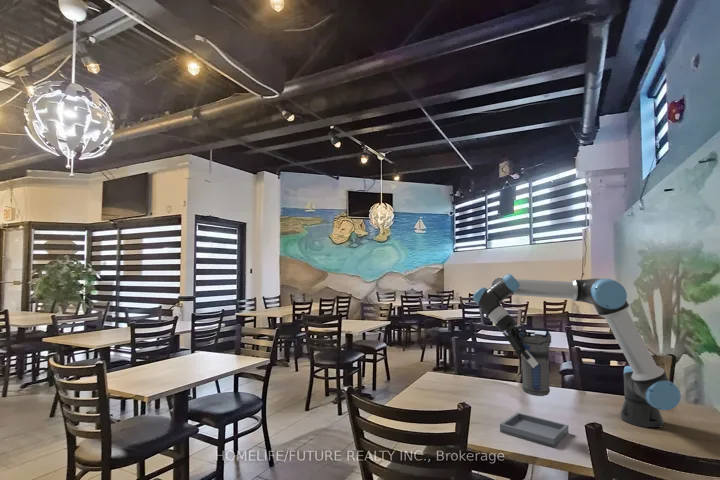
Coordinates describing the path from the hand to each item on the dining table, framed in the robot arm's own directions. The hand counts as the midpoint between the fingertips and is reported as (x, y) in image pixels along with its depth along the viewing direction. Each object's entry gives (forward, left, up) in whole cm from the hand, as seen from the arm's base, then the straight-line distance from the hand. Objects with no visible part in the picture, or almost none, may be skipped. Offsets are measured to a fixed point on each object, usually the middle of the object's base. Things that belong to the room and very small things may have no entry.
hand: (540, 363), depth 158 cm
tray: (+3, 0, -27) cm, 27 cm away
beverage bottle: (+3, 0, -12) cm, 13 cm away
